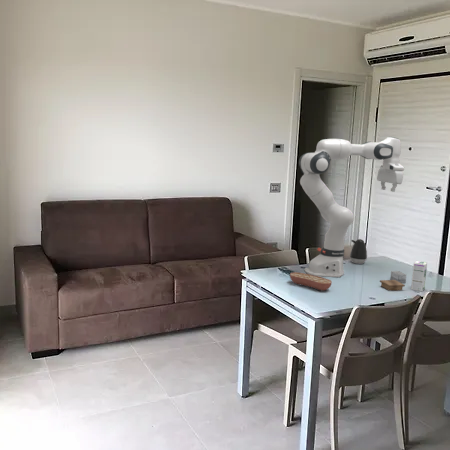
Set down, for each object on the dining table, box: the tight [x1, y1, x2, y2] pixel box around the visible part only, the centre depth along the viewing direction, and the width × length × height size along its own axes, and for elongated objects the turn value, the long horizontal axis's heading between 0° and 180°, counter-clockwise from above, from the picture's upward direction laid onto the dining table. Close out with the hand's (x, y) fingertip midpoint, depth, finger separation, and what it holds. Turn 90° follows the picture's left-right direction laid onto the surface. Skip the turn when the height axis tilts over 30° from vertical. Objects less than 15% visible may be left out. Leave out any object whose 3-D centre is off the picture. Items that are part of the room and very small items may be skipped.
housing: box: [389, 270, 407, 284], centre depth 274 cm, size 5×7×5 cm
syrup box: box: [410, 260, 428, 292], centre depth 260 cm, size 6×6×14 cm
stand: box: [379, 279, 406, 292], centre depth 261 cm, size 9×9×3 cm
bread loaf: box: [289, 272, 333, 291], centre depth 256 cm, size 23×10×5 cm, turn 50°
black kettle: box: [349, 238, 368, 265], centre depth 311 cm, size 10×10×15 cm
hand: (387, 190), depth 285 cm, fingers open, 8 cm apart
